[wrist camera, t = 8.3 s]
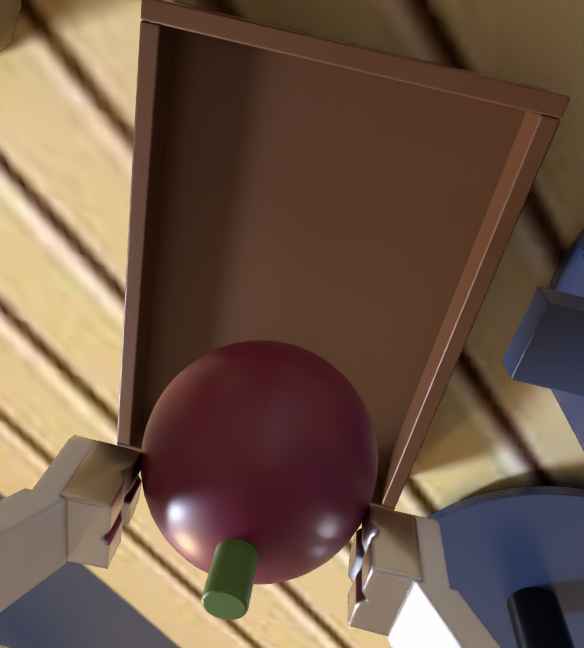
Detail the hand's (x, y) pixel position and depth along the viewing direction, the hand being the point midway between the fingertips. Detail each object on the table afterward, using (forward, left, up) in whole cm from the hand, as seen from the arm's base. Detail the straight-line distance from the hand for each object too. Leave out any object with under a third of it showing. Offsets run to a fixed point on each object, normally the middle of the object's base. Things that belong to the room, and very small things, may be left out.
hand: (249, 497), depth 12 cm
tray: (0, 0, -11) cm, 11 cm away
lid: (+13, +15, -10) cm, 22 cm away
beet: (-1, 0, -3) cm, 3 cm away
